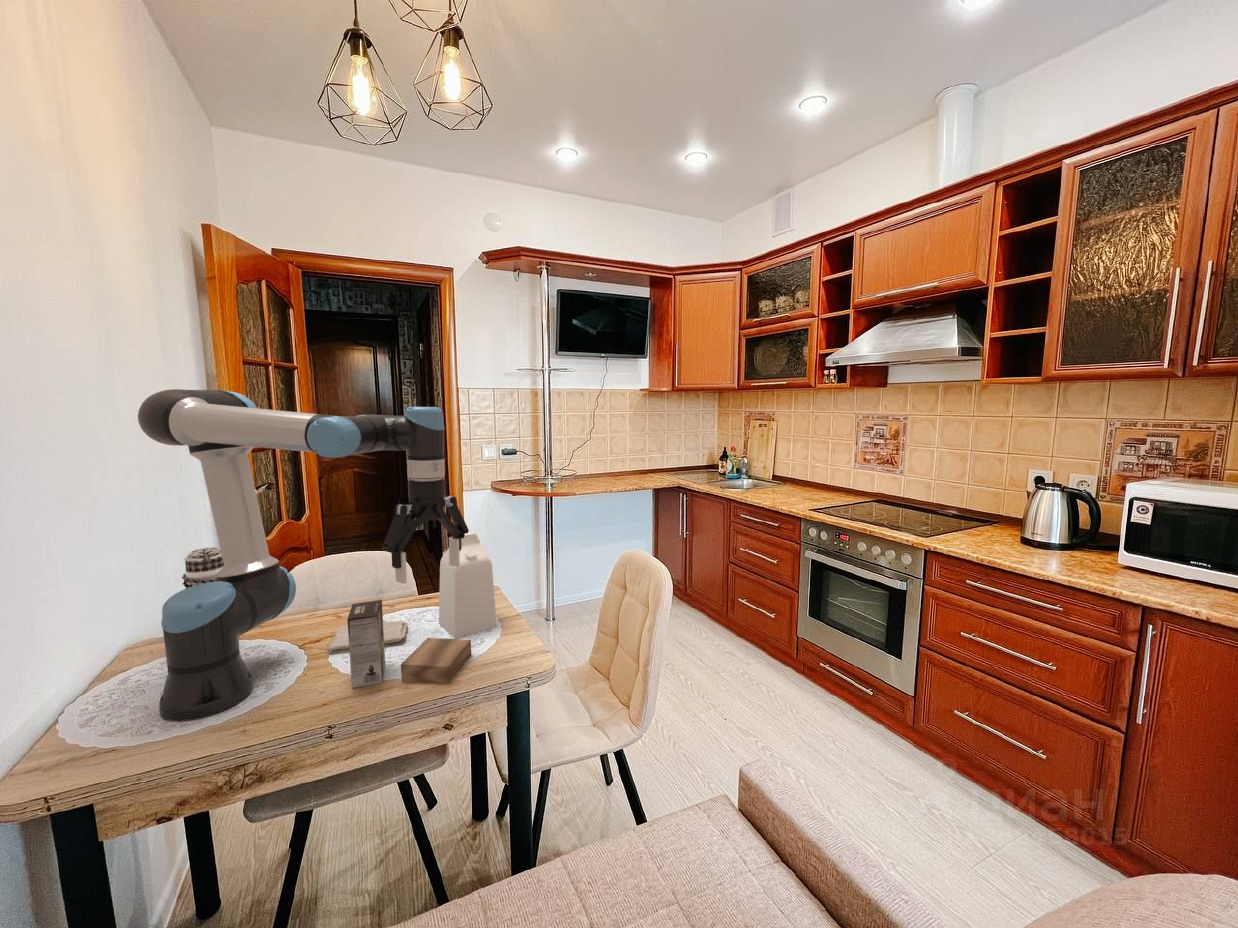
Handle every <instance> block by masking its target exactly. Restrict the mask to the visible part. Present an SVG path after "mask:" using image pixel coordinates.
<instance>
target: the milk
mask: <svg viewBox="0 0 1238 928" xmlns="http://www.w3.org/2000/svg"><path fill="white" fill-rule="evenodd" d="M459 561H460V566H459V567H455V566H452V565H449V547H448V548H447V550H446V551H445V552H444V554H443V555H442V557H441V559H440V564H439V594H438V595H439V602H438V607H439V608H438V625H439V624H440V625H439V626H440V627H441V626H442V627H443V628H444V631H446V632H447V633H448V634H449V635H450V636H451V637H452V639H460V638H463V637H466V636H469V635H472V634H475V633H479V632H483V631H486V630H489V629H493V628H497V627H498V624H497V614H496V613H497V612H496V601H495V585H494V576H493V575H494V573H493V562H492V560H491V558H490V556H489V554H488V552H487V551H486V549H485V548H484V545H483V544H482V543H481V541H480V538H479V537H478V535H477V533H475V532H468V533H467V534H465V537H464V538H461V551H459ZM442 627H441V628H442ZM443 628H442V629H443Z"/></svg>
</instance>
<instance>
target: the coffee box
mask: <svg viewBox="0 0 1238 928" xmlns="http://www.w3.org/2000/svg"><path fill="white" fill-rule="evenodd" d="M383 621H384V619H383V600H382V599H378V600H371V601H363V602H356V603H352V604H351V607H350V610H349V613H348V617H347V626H348V635H349V651H350V652H349V662H350V664H349V665H350V679H351V689H356V687H357V688H361V687H365V686H373V685H378V684H382V683H383V682H384V675H385V668H386V659H385V658H386V655H385V650H386V649H385V647H384V632H383Z"/></svg>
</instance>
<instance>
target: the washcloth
mask: <svg viewBox="0 0 1238 928" xmlns="http://www.w3.org/2000/svg"><path fill="white" fill-rule="evenodd" d="M407 629H408V622H404V620H403V619H401V620H397V621H387V620H384V619H383V632H384V648H386V647H387V648H388V647H389V648H390V647H396V645H397V646H402V645H404V642H405V640H406V637H407V636H406V635H407V632H408V631H407ZM333 636H334V638H333V640H331V643H330V644H329V646H328V654H329V655H336V654H344V653H345V654H346V653H350V651H349V635H348V625H344V626H341V627H338V628H337V629H336V631H335V632H334V635H333ZM394 645H395V646H394Z"/></svg>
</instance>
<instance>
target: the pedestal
mask: <svg viewBox="0 0 1238 928" xmlns="http://www.w3.org/2000/svg"><path fill="white" fill-rule="evenodd" d="M470 657H472V639H460V638H456V639H454V638H441V637H440V638H438V637H427V638H426V639H425V640H424V641H423V642H422V643H421V644H420V645H418V647H417V648H416V649H415V650H414V651H413V652H412V653H410V654H409V656H408V657H407V658H406V659H404V660H403V662H402V663H400V673H401V674H400V675H401V677H400V679H401V682H406V683H410V682H411V683H427V684H440V685H441V684H443V685H445V684H446V685H449V684H450V683H451V682H452V681H453V680H454V679H455V677H456V676H457V675H458V673H459V672H460V671H461V669H462V668H463V667H464V666H465V664H466V663H467V662H468V660H469V659H470Z"/></svg>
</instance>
